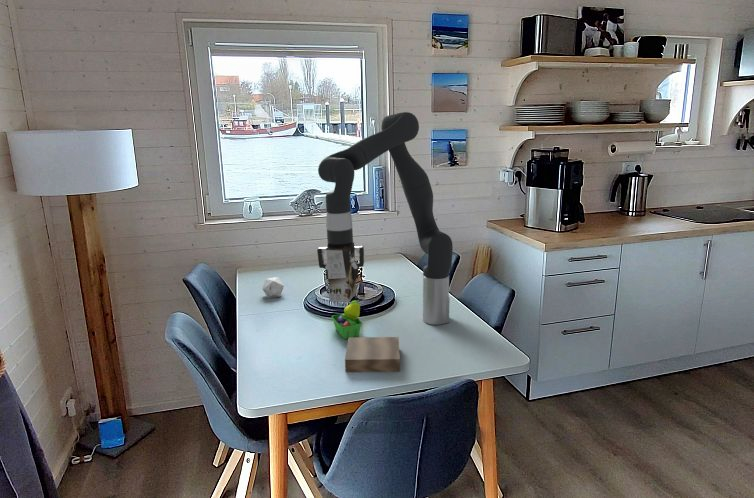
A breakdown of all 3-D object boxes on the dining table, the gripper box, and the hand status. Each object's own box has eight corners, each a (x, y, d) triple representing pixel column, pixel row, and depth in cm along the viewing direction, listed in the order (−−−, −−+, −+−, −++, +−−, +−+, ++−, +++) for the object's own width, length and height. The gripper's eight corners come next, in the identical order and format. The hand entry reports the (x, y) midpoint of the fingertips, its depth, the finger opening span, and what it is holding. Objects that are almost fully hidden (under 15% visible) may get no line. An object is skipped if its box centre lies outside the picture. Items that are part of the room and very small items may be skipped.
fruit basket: (331, 328, 180) (329, 299, 177) (354, 324, 183) (353, 295, 180) (342, 341, 170) (340, 310, 167) (366, 336, 173) (365, 305, 170)
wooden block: (398, 348, 164) (398, 337, 163) (399, 371, 150) (399, 359, 148) (349, 348, 164) (348, 337, 163) (345, 371, 150) (345, 359, 149)
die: (259, 298, 213) (259, 284, 206) (268, 282, 219) (269, 269, 211) (276, 305, 212) (278, 292, 205) (285, 290, 218) (287, 276, 211)
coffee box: (349, 302, 150) (346, 250, 145) (328, 301, 151) (325, 249, 147) (357, 291, 158) (355, 241, 154) (337, 291, 160) (334, 241, 155)
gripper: (364, 223, 152) (366, 275, 157) (316, 224, 153) (320, 276, 157) (363, 229, 145) (365, 283, 149) (313, 230, 145) (317, 285, 150)
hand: (342, 280), depth 153 cm, fingers closed on coffee box, 7 cm apart
